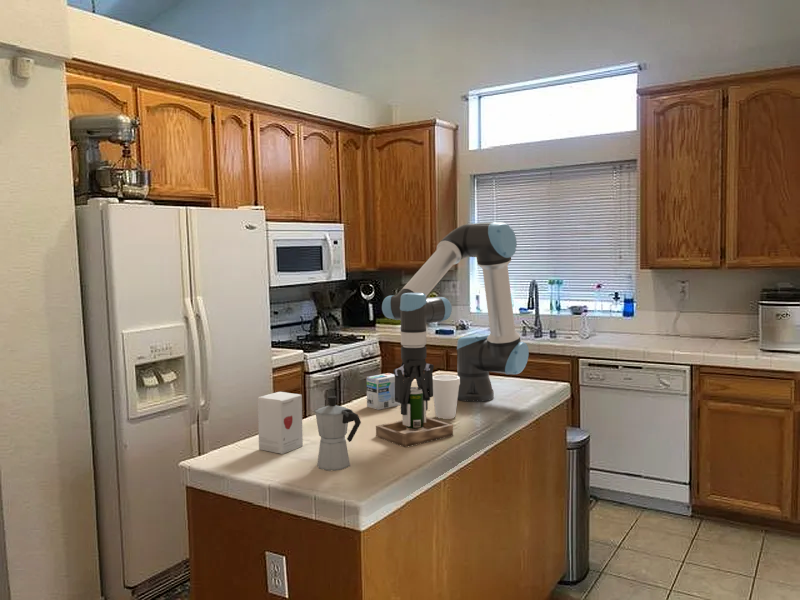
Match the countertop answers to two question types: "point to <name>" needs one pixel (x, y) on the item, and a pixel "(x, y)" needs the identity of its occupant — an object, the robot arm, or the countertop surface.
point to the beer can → (416, 409)
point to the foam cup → (445, 395)
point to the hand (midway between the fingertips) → (414, 423)
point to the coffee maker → (334, 435)
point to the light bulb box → (381, 391)
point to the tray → (414, 432)
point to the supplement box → (280, 422)
